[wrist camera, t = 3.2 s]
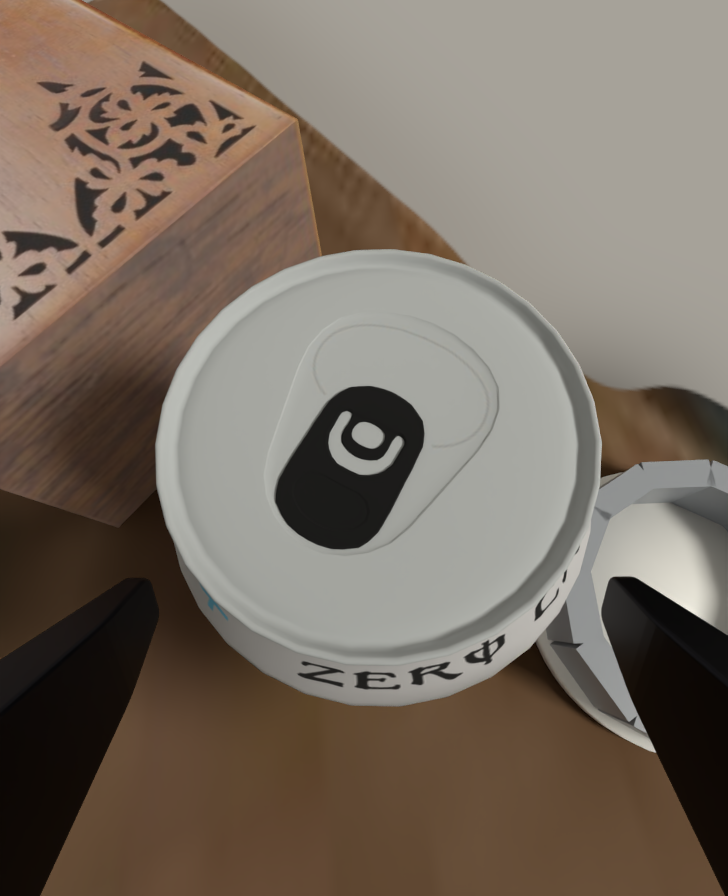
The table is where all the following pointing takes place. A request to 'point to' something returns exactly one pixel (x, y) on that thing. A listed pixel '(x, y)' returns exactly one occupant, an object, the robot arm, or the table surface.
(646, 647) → the robot arm
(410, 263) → the energy drink can
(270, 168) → the tissue box cover
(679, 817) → the table surface
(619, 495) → the dock
